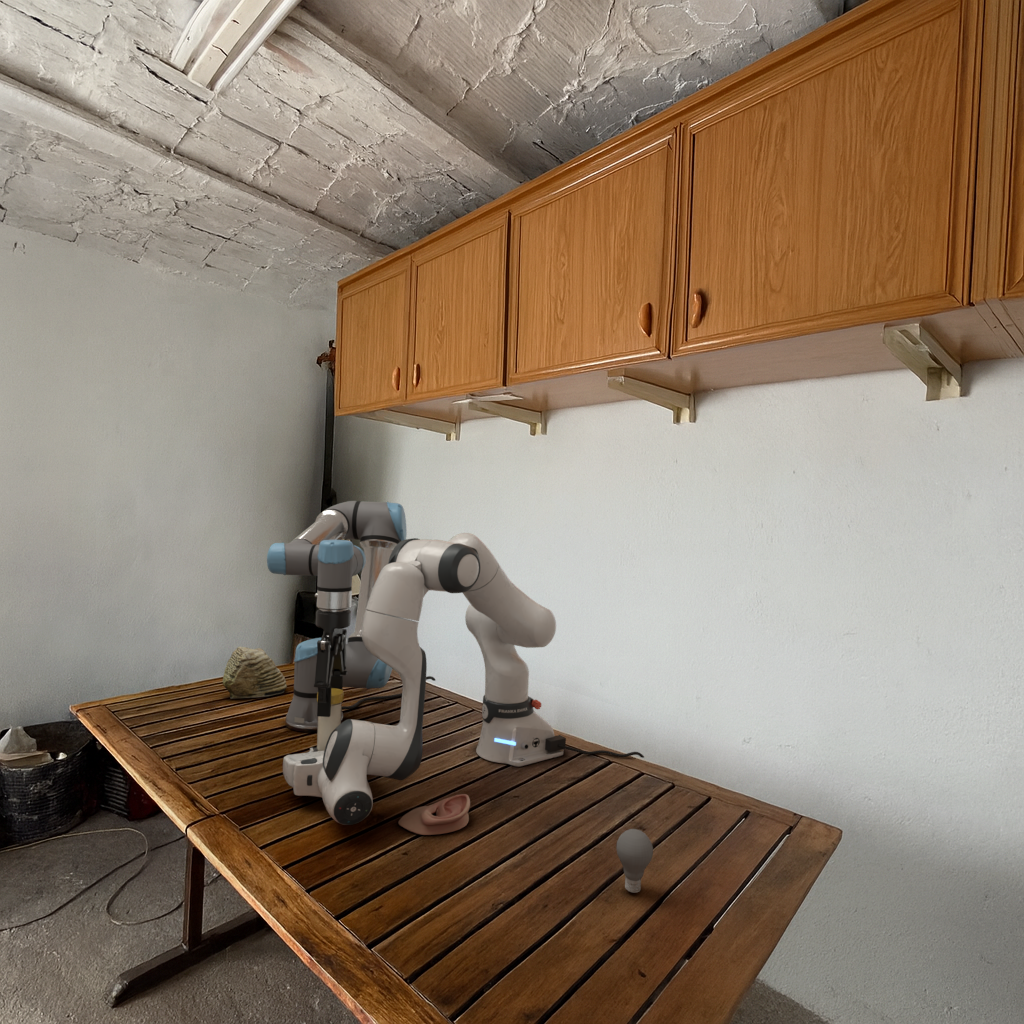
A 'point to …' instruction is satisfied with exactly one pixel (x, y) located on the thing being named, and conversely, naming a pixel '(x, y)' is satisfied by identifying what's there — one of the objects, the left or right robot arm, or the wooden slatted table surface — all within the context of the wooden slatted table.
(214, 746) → the wooden slatted table surface
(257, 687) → the fossil
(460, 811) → the anatomical model
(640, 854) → the light bulb
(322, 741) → the beige cylinder
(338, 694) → the lid
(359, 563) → the left robot arm
